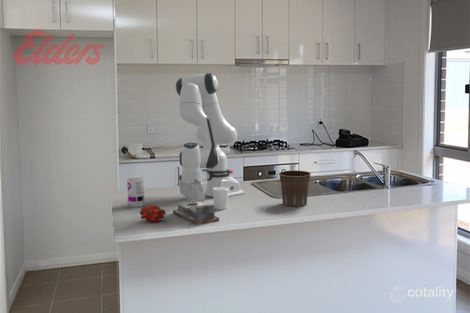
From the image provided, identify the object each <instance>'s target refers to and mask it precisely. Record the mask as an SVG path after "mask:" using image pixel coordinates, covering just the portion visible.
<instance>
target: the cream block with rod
mask: <svg viewBox="0 0 470 313" xmlns="http://www.w3.org/2000/svg"><path fill="white" fill-rule="evenodd" d="M203 205H206V204H205V203H203V202H202V201H201V202H198V201H197V202H196V203H188V204H186V206H187V207H188V206H189V208H190V210H191V211H193V212H195V213H196V206H203Z"/></svg>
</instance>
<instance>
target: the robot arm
mask: <svg viewBox="0 0 470 313" xmlns="http://www.w3.org/2000/svg"><path fill="white" fill-rule="evenodd" d="M175 90H176V93H177V95H178V96H179V116H180V118H181V119H182V120H183V121H184V122H185V123H187V124H189V125H192V126H195V127H197V129H196V132H195V136H196V140H197V141H198V143H200V144H201V146H202V147H200V145H199V144H198V143H196V142H186V143H184V144H183V145H182V149H181V151H180V152H179V153H178V154H179V165H180V166H181V167H182V171H181V174H179V175H178V176H177V177H178V180H179V182H178V183H179V184H178V185H179V192H180V194H181V195H183V196H185V197H187V200H188V204H190V203H197V202H201V203H202V202H204V201H206V196H207V197H211V198H212V197H213V188H215V187H228V188H229V196H228V198H229V197H233V196H238V195H242V194H243V195H244V194H245V190H243V189H241V184H240V182H239V181H238V180H237V179H236V178H234V177H233V176H231V175H232V174H234V171H233V170H232V169H228V163H227V162H228V157H227V154H226V153H225V152H223V150H222V149H221V147H220V146H231V145H234V144H235V143H236V141H237V139H238V131H237V129H236V128H235V127H234V126H232V125H231V124H230V123H229V122H228V121H227V120H226V119H225V117H224V115H223V113H222V110H221V106H220V104H219V100H218V96H217V93H216V92H217V91H218V90H219V82H218V78H217V75H215V74H214V73H208V72H206V73H198V74H197V73H196V74H193V75H189V76H183V77H180V78H179V79H177V81H176V83H175ZM202 169H206V173H205V174H206V187H205V186H204V185H203V183H202Z"/></svg>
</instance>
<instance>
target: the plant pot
mask: <svg viewBox="0 0 470 313" xmlns="http://www.w3.org/2000/svg"><path fill="white" fill-rule="evenodd" d="M311 175H312V173H311V172H310V171H305V170H295V169H294V170H284V171H280V172H278V176H279V182H280V186H281V187H280V188H281V197H282V198H281V199H282V205H283V204H284V205H283V206H285V205H287V206H286V207H290V206H294V207H297V206H302V207H304V205H305V206H306V205H307V204H308V196H309V194H308V193H309V185H310V184H309V182H310V179H311Z"/></svg>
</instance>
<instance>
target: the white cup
mask: <svg viewBox="0 0 470 313" xmlns="http://www.w3.org/2000/svg"><path fill="white" fill-rule="evenodd" d="M228 196H229V188H228V187H215V188H213V205H214V210H219V211H220V210H227V209H229V197H230V196H229V197H228Z"/></svg>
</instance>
